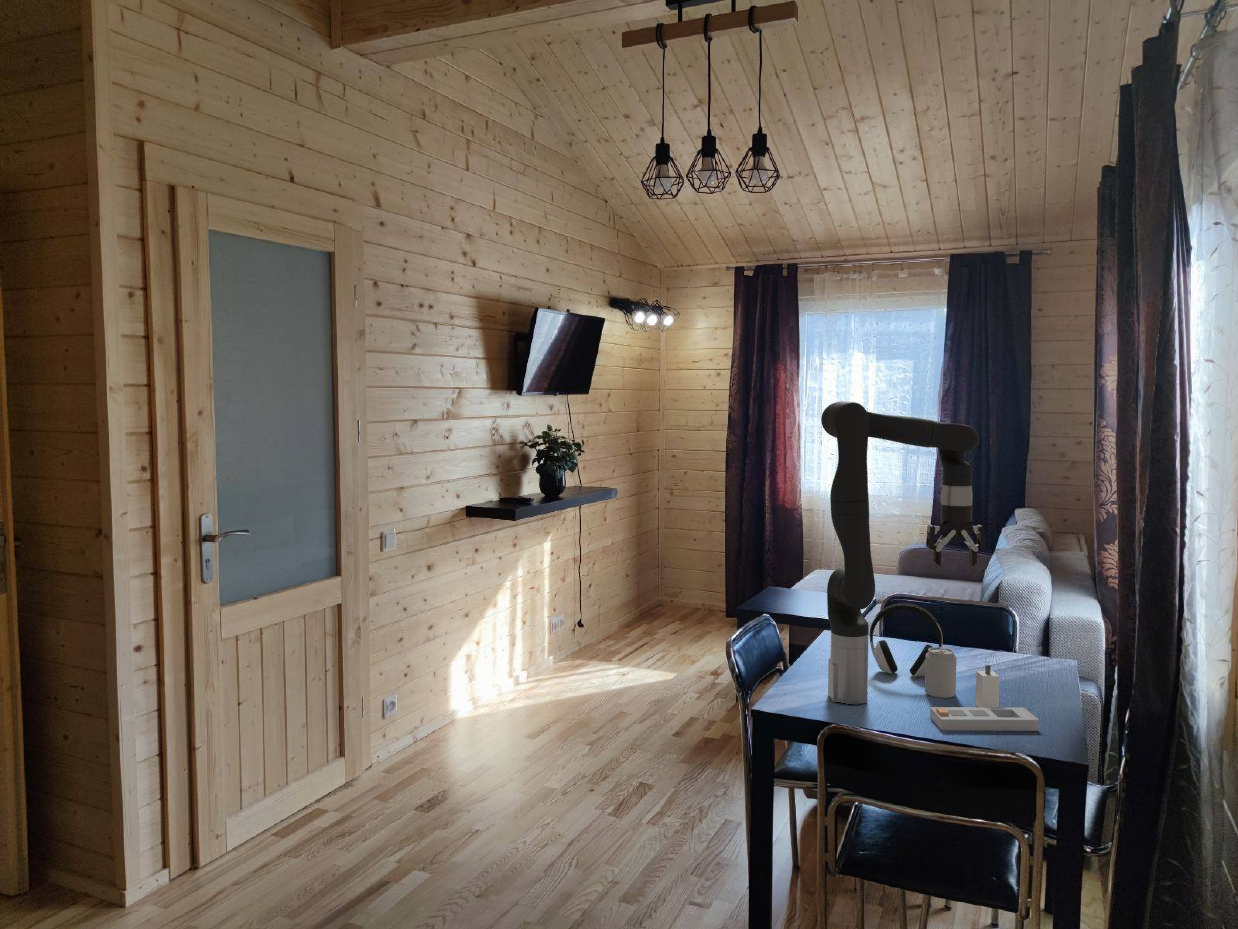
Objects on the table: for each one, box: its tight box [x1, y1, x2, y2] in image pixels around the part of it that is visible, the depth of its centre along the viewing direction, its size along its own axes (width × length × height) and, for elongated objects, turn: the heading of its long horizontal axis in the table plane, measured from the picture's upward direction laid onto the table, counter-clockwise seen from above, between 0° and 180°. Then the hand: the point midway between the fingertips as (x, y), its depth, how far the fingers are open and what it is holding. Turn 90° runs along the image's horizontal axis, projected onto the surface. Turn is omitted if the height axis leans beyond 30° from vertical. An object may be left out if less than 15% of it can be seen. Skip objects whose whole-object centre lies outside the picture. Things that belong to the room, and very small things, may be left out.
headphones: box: [868, 602, 944, 678], centre depth 246 cm, size 19×8×20 cm, turn 68°
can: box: [924, 646, 957, 699], centre depth 229 cm, size 8×8×12 cm
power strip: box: [929, 706, 1040, 732], centre depth 209 cm, size 22×8×4 cm, turn 89°
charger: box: [975, 664, 1000, 707], centre depth 219 cm, size 4×4×11 cm
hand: (954, 565), depth 230 cm, fingers open, 8 cm apart
